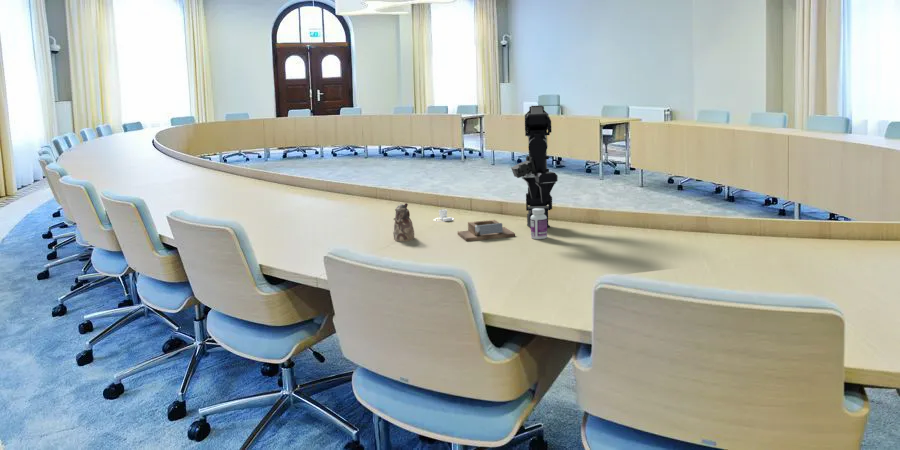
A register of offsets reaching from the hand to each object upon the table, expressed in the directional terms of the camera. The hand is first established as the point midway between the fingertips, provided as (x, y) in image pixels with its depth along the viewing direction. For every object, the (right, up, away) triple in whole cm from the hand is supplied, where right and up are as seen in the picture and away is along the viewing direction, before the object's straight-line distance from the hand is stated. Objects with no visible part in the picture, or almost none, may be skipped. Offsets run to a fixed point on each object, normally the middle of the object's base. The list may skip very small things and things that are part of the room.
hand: (538, 200), depth 224 cm
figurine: (-44, -13, +9) cm, 47 cm away
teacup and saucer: (-33, -7, +36) cm, 49 cm away
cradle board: (-17, -11, +10) cm, 22 cm away
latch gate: (-16, -11, +5) cm, 20 cm away
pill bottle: (+1, -12, +3) cm, 12 cm away
